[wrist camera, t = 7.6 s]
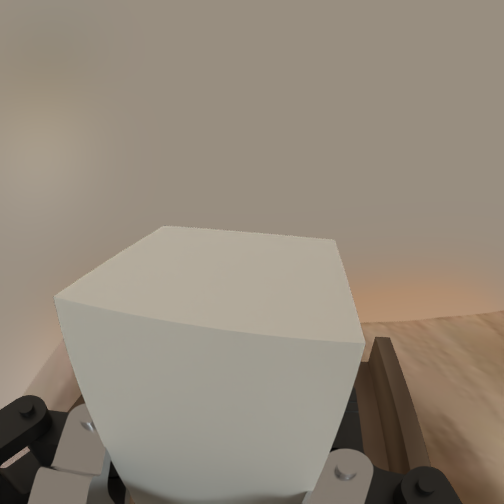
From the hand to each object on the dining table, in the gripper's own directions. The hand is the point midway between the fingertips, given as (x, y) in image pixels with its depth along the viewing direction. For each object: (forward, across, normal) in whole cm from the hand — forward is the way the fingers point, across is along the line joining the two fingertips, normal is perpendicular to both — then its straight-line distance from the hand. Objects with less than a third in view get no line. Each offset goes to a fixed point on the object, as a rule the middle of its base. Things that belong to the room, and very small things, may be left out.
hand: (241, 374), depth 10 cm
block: (-3, 0, +7) cm, 8 cm away
